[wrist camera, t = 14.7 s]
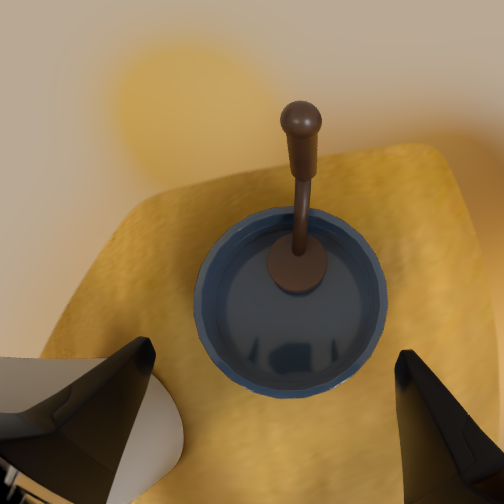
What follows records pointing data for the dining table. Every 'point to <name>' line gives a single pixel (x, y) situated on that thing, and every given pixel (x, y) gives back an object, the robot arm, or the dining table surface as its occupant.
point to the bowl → (289, 308)
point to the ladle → (299, 206)
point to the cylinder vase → (142, 434)
